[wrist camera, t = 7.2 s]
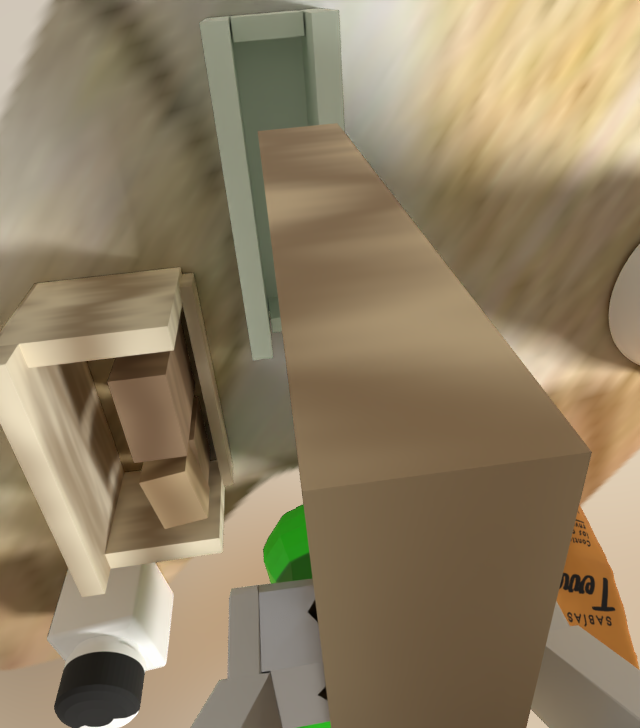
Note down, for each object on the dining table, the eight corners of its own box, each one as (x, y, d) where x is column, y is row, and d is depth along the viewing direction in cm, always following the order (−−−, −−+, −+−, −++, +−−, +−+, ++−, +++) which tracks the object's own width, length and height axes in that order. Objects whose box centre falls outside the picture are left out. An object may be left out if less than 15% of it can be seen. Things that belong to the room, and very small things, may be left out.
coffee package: (477, 502, 52) (607, 776, 34) (360, 462, 48) (436, 750, 30) (547, 421, 48) (739, 684, 30) (427, 370, 44) (563, 639, 26)
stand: (320, 8, 31) (339, 10, 25) (337, 297, 40) (354, 348, 34) (206, 18, 30) (199, 22, 25) (250, 308, 39) (252, 360, 34)
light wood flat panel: (337, 123, 17) (592, 452, 5) (353, 433, 24) (480, 921, 11) (257, 130, 17) (302, 491, 5) (295, 441, 24) (357, 944, 11)
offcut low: (198, 396, 43) (193, 439, 39) (210, 449, 46) (207, 495, 41) (154, 401, 43) (145, 445, 38) (169, 455, 45) (162, 501, 41)
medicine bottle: (67, 564, 50) (24, 705, 40) (146, 544, 50) (123, 681, 40) (101, 611, 54) (70, 751, 44) (175, 593, 54) (160, 729, 44)
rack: (192, 265, 37) (178, 343, 29) (234, 472, 47) (233, 575, 39) (34, 283, 37) (-26, 368, 28) (110, 488, 46) (82, 597, 38)
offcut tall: (178, 309, 39) (165, 374, 32) (195, 382, 42) (186, 456, 35) (130, 315, 39) (107, 381, 32) (150, 388, 42) (133, 463, 35)
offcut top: (188, 442, 39) (185, 471, 36) (209, 488, 41) (208, 518, 39) (145, 453, 39) (138, 483, 36) (168, 498, 41) (164, 528, 39)
